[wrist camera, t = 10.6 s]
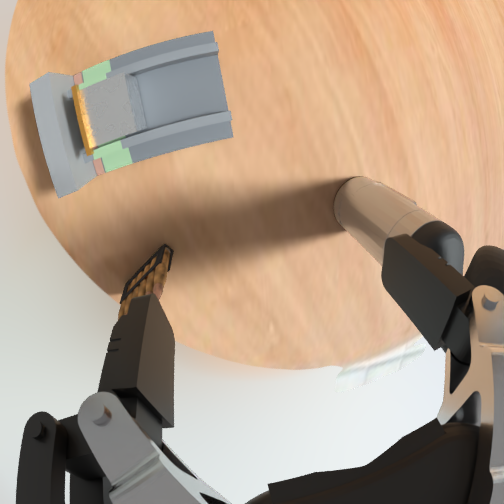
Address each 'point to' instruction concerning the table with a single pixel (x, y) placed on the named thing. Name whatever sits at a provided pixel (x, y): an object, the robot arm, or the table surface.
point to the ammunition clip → (147, 278)
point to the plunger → (108, 110)
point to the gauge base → (154, 106)
